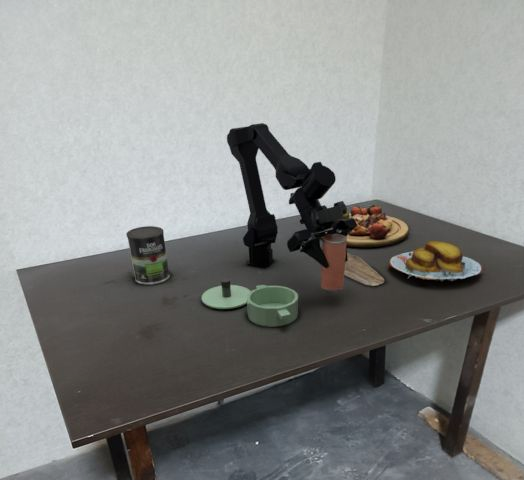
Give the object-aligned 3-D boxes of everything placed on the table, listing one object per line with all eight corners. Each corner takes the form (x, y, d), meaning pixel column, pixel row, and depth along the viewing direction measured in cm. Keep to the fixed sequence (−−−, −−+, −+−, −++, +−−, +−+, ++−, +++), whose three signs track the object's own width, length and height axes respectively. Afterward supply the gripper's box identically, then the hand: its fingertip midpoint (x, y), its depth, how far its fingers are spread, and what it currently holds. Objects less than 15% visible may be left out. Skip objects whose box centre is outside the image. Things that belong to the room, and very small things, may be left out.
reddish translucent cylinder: (317, 289, 123) (318, 240, 116) (325, 280, 127) (327, 232, 120) (339, 293, 121) (342, 243, 114) (346, 284, 125) (350, 235, 118)
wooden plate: (418, 247, 157) (422, 222, 152) (320, 250, 158) (321, 225, 153) (396, 217, 184) (399, 195, 179) (313, 220, 185) (313, 198, 180)
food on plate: (372, 274, 141) (374, 252, 137) (414, 249, 156) (416, 229, 152) (457, 298, 126) (462, 274, 122) (494, 268, 141) (499, 247, 137)
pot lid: (208, 315, 123) (206, 295, 120) (196, 293, 134) (194, 274, 131) (259, 305, 127) (258, 285, 124) (243, 285, 137) (242, 266, 134)
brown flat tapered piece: (396, 279, 137) (397, 275, 136) (369, 290, 133) (369, 287, 133) (339, 250, 156) (339, 247, 155) (314, 260, 152) (313, 256, 151)
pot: (261, 336, 113) (260, 317, 111) (238, 303, 128) (237, 286, 125) (310, 325, 117) (310, 307, 114) (283, 295, 131) (282, 278, 128)
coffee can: (174, 280, 142) (168, 233, 135) (140, 287, 138) (131, 240, 131) (164, 268, 150) (157, 223, 142) (131, 275, 146) (122, 229, 138)
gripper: (294, 198, 110) (323, 258, 108) (355, 184, 118) (383, 240, 117) (275, 223, 120) (301, 279, 118) (332, 209, 128) (358, 261, 126)
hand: (336, 264), depth 120 cm, fingers closed on reddish translucent cylinder, 6 cm apart
